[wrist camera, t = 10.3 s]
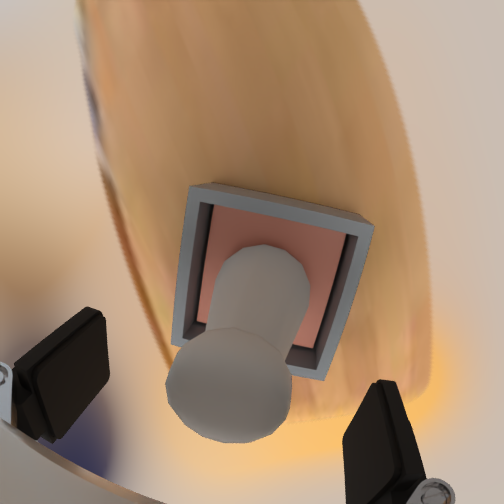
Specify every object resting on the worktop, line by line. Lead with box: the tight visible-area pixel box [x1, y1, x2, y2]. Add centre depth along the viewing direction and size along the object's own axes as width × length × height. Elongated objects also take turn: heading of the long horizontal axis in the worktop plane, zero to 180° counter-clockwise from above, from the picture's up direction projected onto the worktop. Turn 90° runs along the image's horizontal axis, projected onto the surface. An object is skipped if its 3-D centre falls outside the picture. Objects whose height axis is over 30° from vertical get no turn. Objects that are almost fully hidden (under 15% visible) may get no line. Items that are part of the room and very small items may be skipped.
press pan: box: [197, 205, 346, 348], centre depth 22 cm, size 9×9×1 cm
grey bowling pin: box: [165, 244, 310, 443], centre depth 15 cm, size 6×6×13 cm
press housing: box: [171, 183, 375, 381], centre depth 21 cm, size 11×11×5 cm
